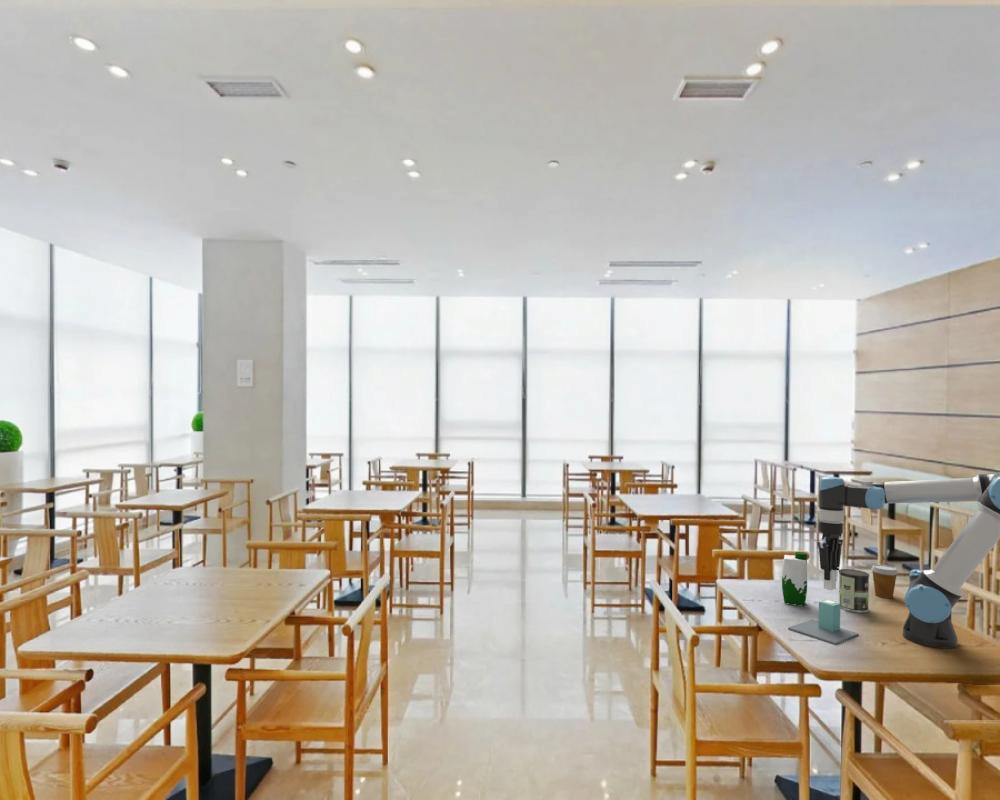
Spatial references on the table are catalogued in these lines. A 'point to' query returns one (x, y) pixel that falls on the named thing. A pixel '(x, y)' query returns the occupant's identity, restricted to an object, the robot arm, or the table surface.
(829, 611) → the block
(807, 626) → the mat
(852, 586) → the coffee can
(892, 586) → the disposable coffee cup
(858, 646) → the table surface
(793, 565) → the milk carton
